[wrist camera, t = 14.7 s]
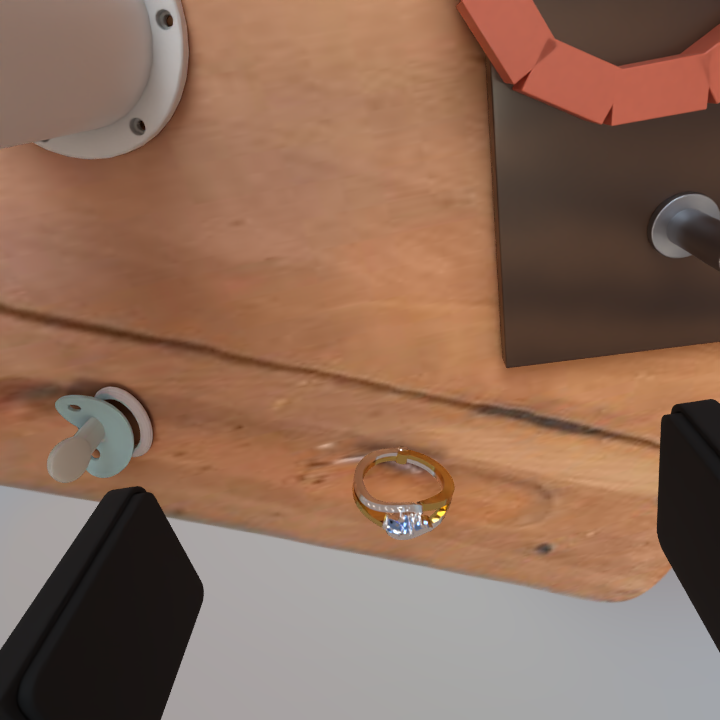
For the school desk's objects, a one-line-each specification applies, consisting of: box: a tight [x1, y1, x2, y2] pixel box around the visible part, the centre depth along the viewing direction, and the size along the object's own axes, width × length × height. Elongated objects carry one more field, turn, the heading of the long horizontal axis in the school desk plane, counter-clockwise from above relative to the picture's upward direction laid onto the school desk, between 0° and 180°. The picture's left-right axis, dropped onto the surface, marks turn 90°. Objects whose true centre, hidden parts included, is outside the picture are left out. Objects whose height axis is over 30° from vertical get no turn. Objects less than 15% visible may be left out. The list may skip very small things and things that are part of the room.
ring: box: [352, 446, 455, 540], centre depth 37 cm, size 7×3×8 cm, turn 81°
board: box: [485, 0, 720, 368], centre depth 27 cm, size 31×19×2 cm, turn 10°
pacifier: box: [47, 387, 153, 483], centre depth 38 cm, size 7×6×6 cm
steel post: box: [647, 192, 720, 272], centre depth 27 cm, size 4×4×6 cm
